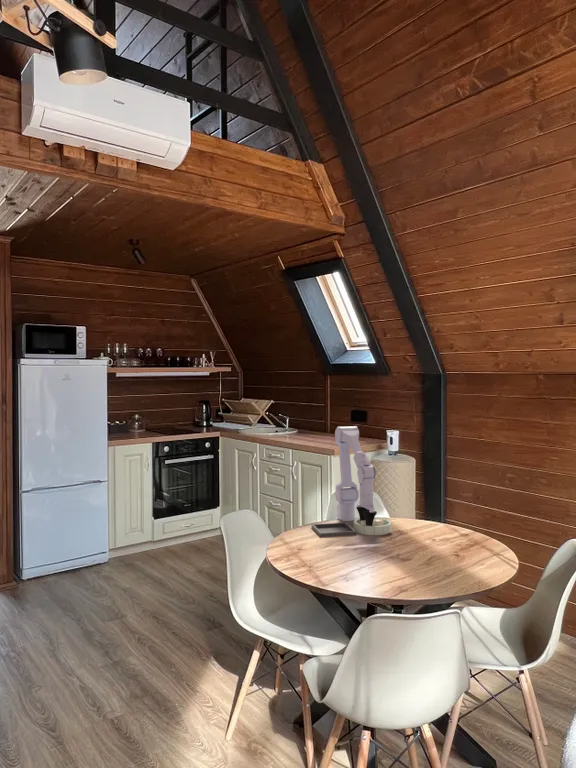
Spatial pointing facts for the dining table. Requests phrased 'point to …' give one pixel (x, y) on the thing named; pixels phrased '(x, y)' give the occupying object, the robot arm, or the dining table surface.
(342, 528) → the tray
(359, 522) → the bowl
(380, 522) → the pebble
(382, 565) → the dining table surface
